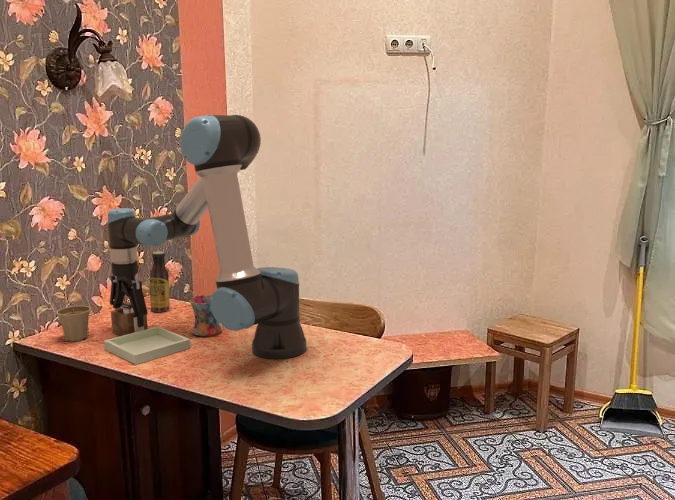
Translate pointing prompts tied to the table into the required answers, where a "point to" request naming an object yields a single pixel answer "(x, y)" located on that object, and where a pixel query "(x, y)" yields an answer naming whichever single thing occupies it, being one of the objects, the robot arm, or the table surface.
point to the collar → (124, 322)
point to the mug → (204, 316)
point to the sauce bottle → (159, 284)
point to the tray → (147, 345)
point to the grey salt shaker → (127, 308)
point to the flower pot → (74, 322)
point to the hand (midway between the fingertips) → (130, 332)
